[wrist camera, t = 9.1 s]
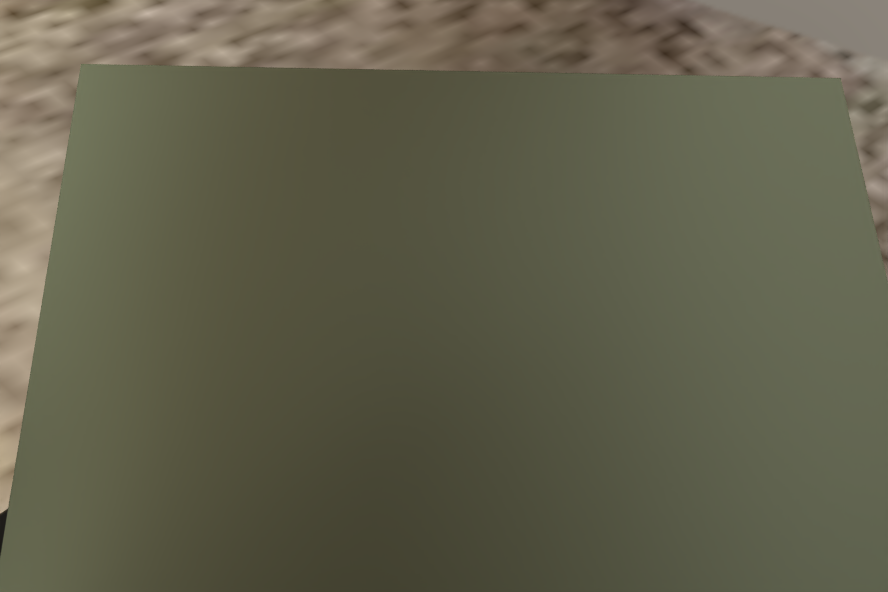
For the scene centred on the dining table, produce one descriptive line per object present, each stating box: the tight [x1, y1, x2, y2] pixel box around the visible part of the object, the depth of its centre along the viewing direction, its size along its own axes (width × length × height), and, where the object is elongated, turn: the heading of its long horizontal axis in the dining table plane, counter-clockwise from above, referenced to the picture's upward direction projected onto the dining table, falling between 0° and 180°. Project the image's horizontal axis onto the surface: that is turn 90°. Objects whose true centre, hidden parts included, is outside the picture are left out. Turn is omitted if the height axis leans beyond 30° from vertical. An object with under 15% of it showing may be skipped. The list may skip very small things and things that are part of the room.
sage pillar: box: [0, 64, 888, 592], centre depth 9 cm, size 5×5×12 cm
